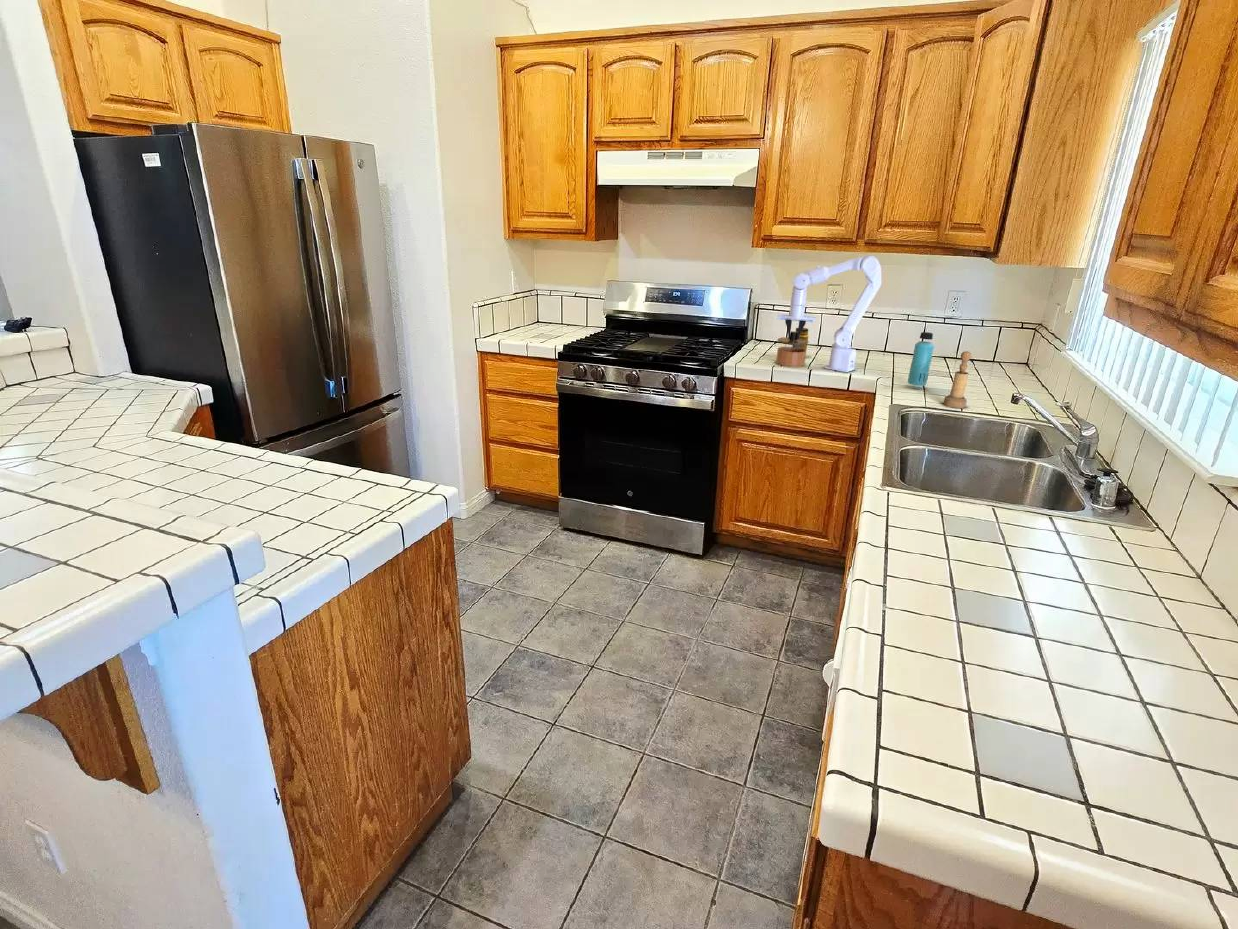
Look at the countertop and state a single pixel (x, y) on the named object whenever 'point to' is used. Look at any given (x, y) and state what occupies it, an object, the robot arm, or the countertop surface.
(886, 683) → the countertop surface
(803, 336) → the condiment
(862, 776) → the countertop surface
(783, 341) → the pot lid
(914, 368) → the beverage bottle
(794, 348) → the terracotta bowl
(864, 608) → the countertop surface
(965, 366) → the mortar and pestle
